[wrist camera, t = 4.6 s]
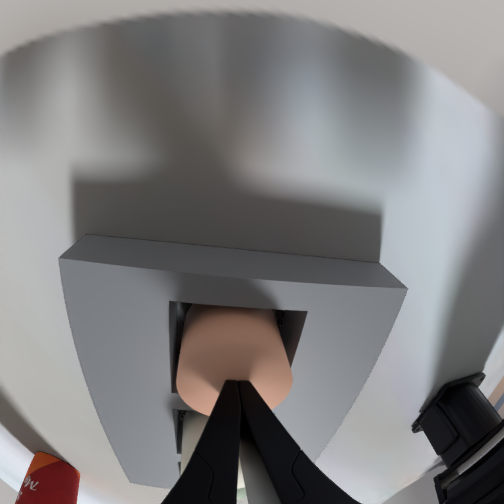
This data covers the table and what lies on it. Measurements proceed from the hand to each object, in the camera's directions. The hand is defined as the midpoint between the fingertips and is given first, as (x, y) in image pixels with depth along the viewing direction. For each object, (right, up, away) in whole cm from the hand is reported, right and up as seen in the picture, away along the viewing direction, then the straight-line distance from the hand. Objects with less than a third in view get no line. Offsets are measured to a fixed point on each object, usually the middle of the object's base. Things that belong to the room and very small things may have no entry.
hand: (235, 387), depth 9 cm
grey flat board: (-1, -4, +6) cm, 7 cm away
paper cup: (-21, -18, +10) cm, 29 cm away
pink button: (0, +1, +3) cm, 3 cm away
